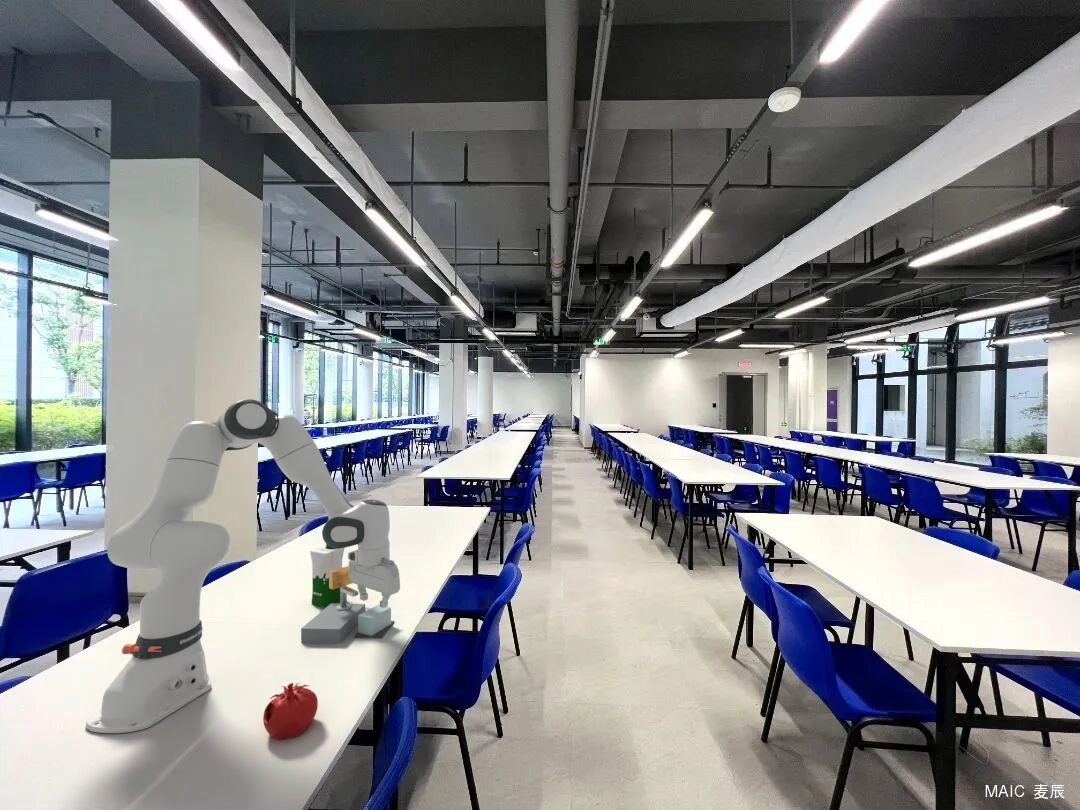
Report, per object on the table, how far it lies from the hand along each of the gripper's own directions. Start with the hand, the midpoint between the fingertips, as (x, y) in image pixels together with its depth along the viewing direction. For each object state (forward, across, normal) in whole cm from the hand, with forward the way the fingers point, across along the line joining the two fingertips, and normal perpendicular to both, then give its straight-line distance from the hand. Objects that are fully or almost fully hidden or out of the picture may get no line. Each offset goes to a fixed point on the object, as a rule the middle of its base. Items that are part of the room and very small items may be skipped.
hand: (373, 603), depth 140 cm
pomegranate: (+9, -23, +35) cm, 43 cm away
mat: (+8, +1, -1) cm, 8 cm away
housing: (+8, +11, +6) cm, 15 cm away
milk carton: (+8, +31, -4) cm, 32 cm away
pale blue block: (+8, +1, -1) cm, 8 cm away
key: (+4, +11, +1) cm, 11 cm away
